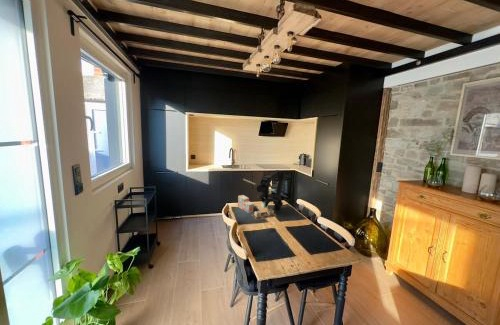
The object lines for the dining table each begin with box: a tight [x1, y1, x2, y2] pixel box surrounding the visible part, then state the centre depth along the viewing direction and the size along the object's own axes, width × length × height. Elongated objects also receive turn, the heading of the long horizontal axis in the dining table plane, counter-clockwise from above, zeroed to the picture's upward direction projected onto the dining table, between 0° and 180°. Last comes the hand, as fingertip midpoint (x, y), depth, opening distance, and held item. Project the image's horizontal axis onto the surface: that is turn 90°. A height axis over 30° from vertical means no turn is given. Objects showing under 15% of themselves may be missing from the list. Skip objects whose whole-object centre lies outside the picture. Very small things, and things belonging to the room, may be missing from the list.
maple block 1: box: [253, 210, 262, 217], centre depth 186 cm, size 4×4×4 cm
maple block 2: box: [266, 208, 275, 215], centre depth 192 cm, size 4×4×4 cm
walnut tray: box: [251, 211, 277, 221], centre depth 189 cm, size 22×11×2 cm, turn 116°
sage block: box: [260, 201, 269, 209], centre depth 187 cm, size 4×4×4 cm
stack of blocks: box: [237, 194, 255, 214], centre depth 203 cm, size 21×6×12 cm, turn 32°
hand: (264, 205), depth 188 cm, fingers closed on sage block, 4 cm apart
